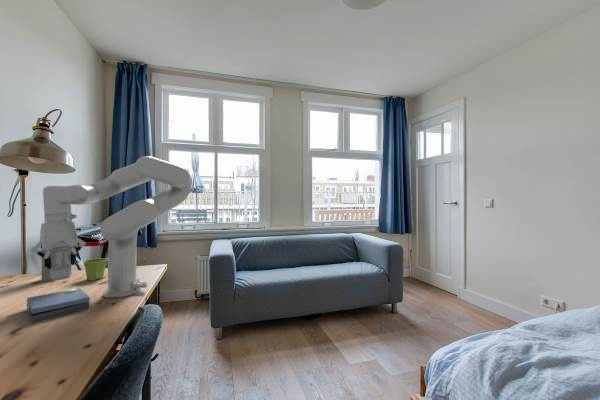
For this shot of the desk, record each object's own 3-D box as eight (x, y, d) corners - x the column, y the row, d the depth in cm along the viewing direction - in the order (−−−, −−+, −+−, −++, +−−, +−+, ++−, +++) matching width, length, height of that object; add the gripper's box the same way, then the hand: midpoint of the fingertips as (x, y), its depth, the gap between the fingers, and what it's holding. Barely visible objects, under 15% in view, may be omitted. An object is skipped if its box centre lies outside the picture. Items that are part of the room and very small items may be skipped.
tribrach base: (79, 297, 100) (79, 292, 100) (89, 307, 91) (89, 302, 91) (26, 309, 89) (26, 304, 89) (32, 322, 80) (32, 316, 80)
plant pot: (88, 276, 127) (88, 258, 127) (110, 275, 130) (111, 257, 130) (78, 282, 118) (78, 263, 118) (103, 280, 121) (103, 261, 121)
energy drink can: (72, 274, 103) (70, 236, 103) (71, 278, 99) (69, 238, 98) (51, 278, 100) (49, 238, 99) (49, 282, 95) (46, 240, 95)
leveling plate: (79, 292, 100) (79, 286, 100) (89, 301, 91) (89, 295, 91) (26, 302, 89) (27, 295, 89) (32, 314, 80) (32, 307, 80)
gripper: (84, 216, 108) (87, 260, 108) (24, 220, 94) (26, 270, 95) (89, 217, 103) (92, 262, 103) (26, 221, 90) (29, 274, 90)
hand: (60, 266), depth 99 cm, fingers closed on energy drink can, 6 cm apart
